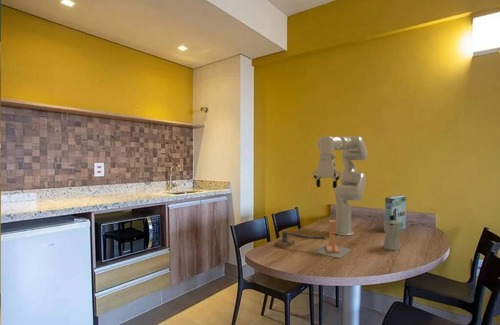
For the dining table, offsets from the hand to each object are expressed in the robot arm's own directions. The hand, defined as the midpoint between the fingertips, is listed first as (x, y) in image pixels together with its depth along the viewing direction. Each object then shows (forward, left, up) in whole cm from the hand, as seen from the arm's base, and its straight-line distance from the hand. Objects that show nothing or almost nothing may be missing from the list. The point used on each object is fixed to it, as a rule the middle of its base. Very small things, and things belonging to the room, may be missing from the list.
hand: (326, 187), depth 166 cm
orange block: (+11, +8, -32) cm, 35 cm away
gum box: (-59, +25, -33) cm, 72 cm away
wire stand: (+18, -8, -32) cm, 38 cm away
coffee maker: (-14, +32, -32) cm, 48 cm away
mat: (+12, +9, -32) cm, 35 cm away
